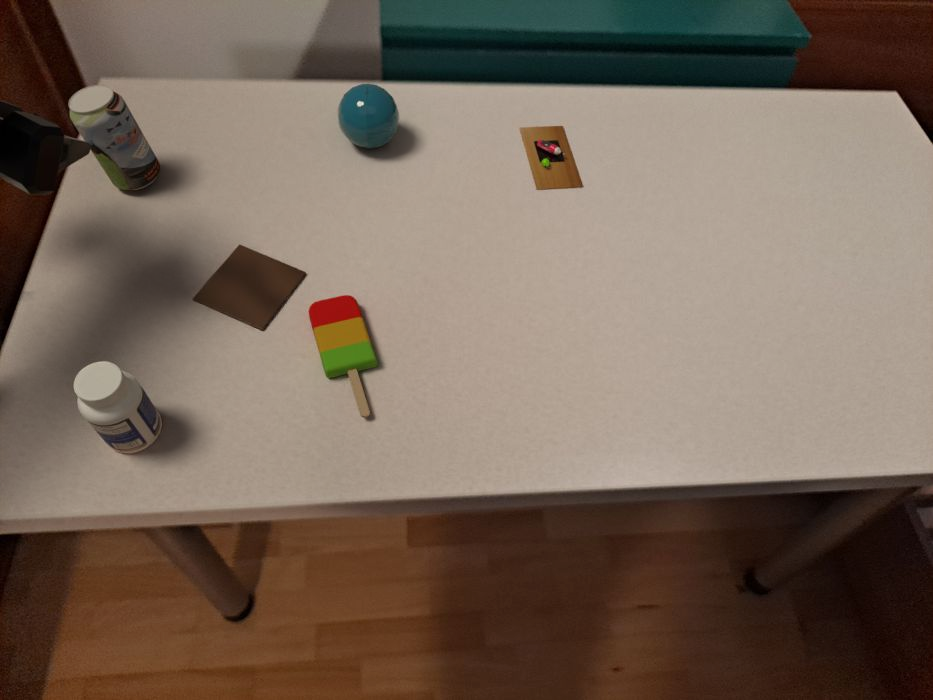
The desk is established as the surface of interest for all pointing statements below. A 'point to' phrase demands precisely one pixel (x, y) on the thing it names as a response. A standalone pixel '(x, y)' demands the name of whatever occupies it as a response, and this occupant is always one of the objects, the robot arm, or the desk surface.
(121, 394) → the pill bottle
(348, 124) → the ball
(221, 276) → the coaster
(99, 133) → the beverage can
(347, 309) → the popsicle
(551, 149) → the board
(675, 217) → the desk surface
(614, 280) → the desk surface
